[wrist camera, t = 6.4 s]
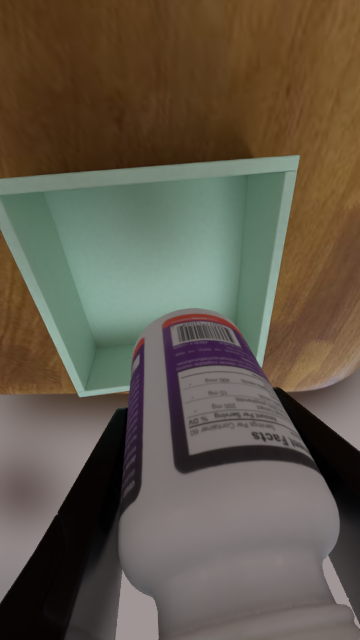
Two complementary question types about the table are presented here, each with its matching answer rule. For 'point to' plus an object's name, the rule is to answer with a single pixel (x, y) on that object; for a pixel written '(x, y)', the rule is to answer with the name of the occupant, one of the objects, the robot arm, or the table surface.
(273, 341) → the table surface
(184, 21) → the table surface
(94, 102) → the table surface
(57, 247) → the bin
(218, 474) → the pill bottle
